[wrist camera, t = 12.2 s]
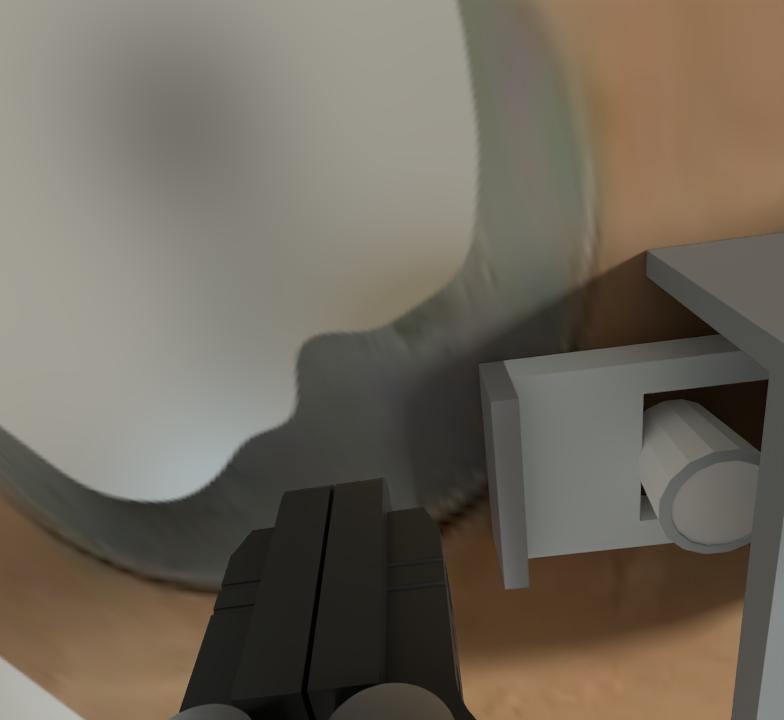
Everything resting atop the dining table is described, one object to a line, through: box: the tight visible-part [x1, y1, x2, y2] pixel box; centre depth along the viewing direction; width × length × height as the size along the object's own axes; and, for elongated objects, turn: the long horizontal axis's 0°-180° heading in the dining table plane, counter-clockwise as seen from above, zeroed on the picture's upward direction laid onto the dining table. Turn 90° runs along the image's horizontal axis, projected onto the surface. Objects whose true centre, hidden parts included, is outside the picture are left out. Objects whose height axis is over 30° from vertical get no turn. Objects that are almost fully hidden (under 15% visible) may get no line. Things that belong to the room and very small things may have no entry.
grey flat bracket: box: [478, 334, 770, 590], centre depth 39 cm, size 20×13×5 cm, turn 97°
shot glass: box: [638, 399, 761, 554], centre depth 38 cm, size 7×7×7 cm
